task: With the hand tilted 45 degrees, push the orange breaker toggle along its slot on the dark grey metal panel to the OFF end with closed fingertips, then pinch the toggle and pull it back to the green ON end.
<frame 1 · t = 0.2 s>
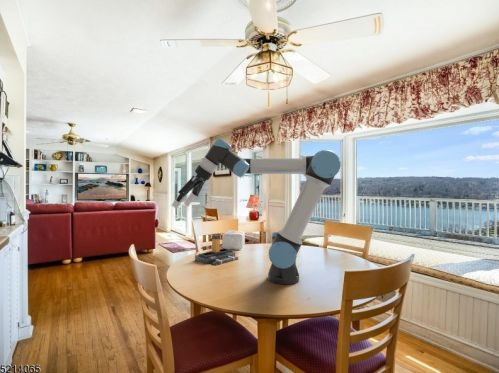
hand: (180, 206, 131), 36 cm above the table, tool tilted 35°, fingers open, 13 cm apart
breaker toggle: (215, 244, 172), point 9 cm above the table, slide at 0.0 cm
breaker panel: (215, 258, 172), on the table
cable organizer: (233, 248, 201), on the table
cord bundle: (225, 261, 167), on the table
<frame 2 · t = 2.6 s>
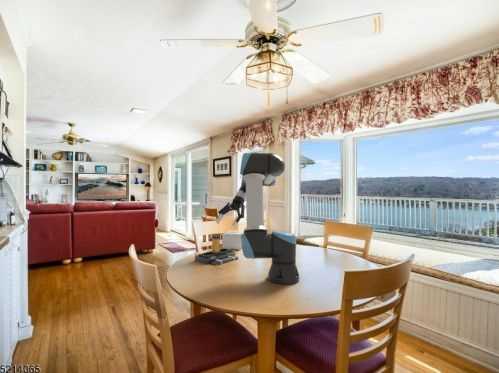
hand: (225, 224, 178), 20 cm above the table, tool tilted 40°, fingers open, 13 cm apart
nothing on the table moved.
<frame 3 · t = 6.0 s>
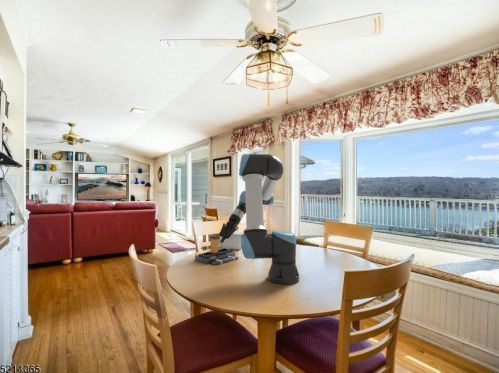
hand: (217, 246, 173), 7 cm above the table, tool tilted 45°, fingers closed
breaker toggle: (214, 244, 171), point 9 cm above the table, slide at 1.4 cm, touching gripper
everything else where it was.
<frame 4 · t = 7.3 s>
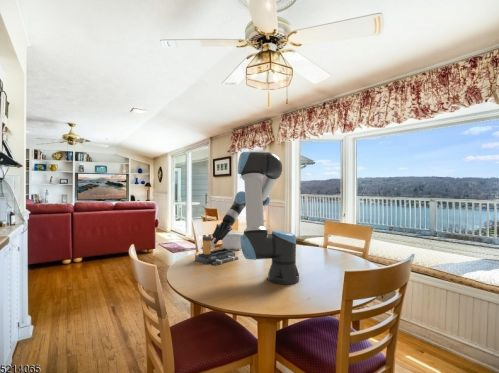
hand: (210, 247, 169), 8 cm above the table, tool tilted 45°, fingers closed
breaker toggle: (206, 246, 167), point 9 cm above the table, slide at 7.2 cm, touching gripper
everything else where it was.
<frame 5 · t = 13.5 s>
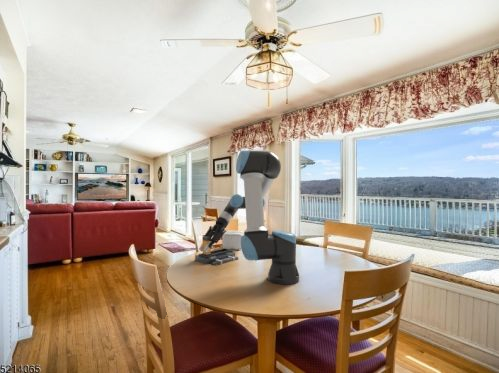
hand: (202, 250, 165), 7 cm above the table, tool tilted 45°, fingers closed on breaker toggle, 3 cm apart
breaker toggle: (206, 246, 167), point 9 cm above the table, slide at 7.3 cm, touching gripper
everything else where it was.
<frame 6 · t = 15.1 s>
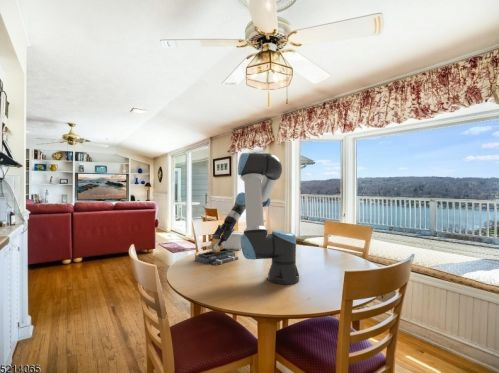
hand: (212, 248, 170), 7 cm above the table, tool tilted 45°, fingers closed on breaker toggle, 4 cm apart
breaker toggle: (216, 244, 172), point 9 cm above the table, slide at -0.3 cm, touching gripper
everything else where it was.
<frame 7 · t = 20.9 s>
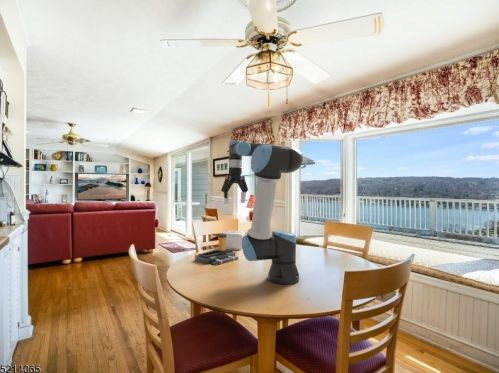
hand: (235, 203, 165), 35 cm above the table, tool pointing down, fingers open, 13 cm apart
breaker toggle: (222, 243, 176), point 9 cm above the table, slide at -5.4 cm
everything else where it was.
at the end: breaker toggle slide at -5.4 cm; the gripper is holding nothing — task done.
